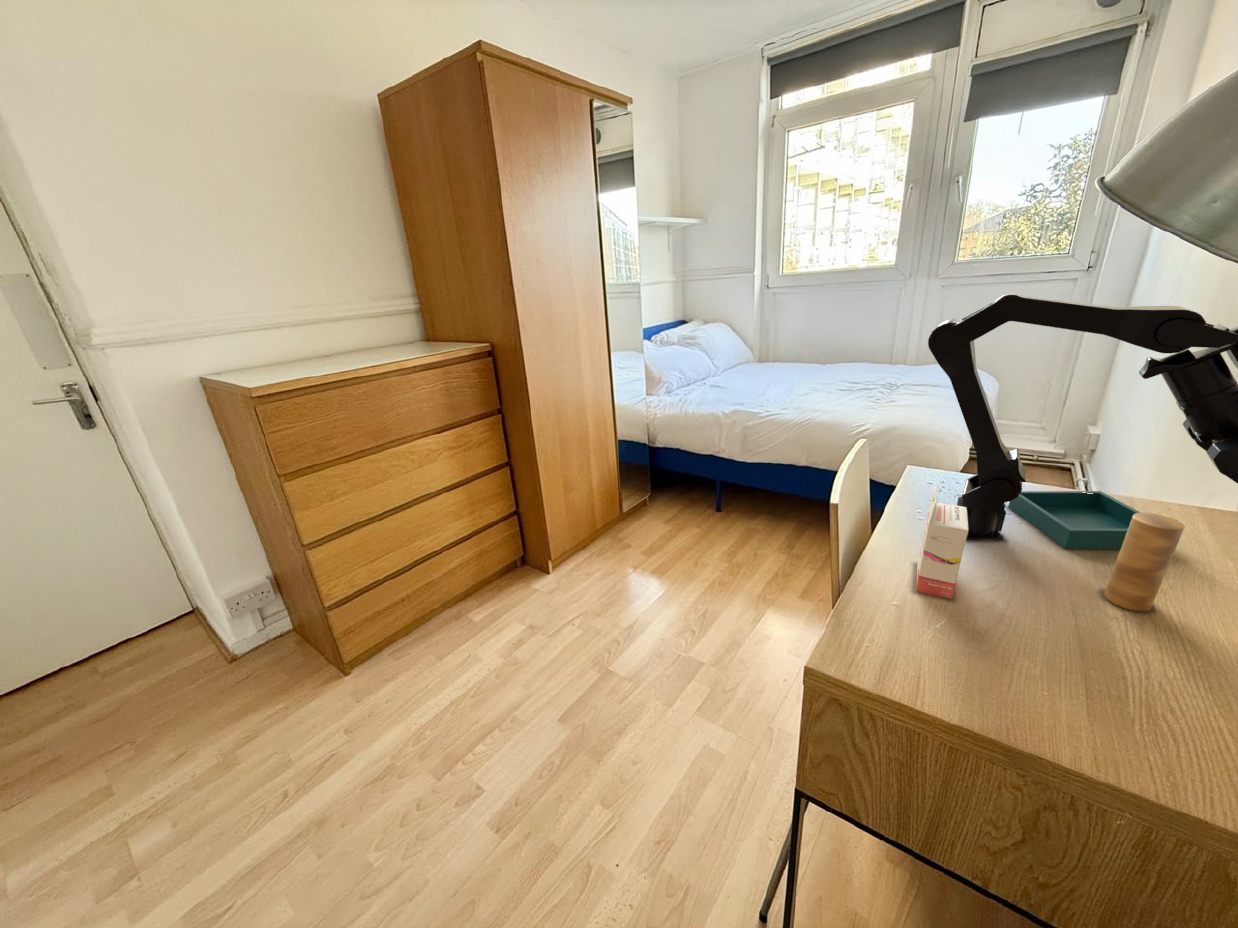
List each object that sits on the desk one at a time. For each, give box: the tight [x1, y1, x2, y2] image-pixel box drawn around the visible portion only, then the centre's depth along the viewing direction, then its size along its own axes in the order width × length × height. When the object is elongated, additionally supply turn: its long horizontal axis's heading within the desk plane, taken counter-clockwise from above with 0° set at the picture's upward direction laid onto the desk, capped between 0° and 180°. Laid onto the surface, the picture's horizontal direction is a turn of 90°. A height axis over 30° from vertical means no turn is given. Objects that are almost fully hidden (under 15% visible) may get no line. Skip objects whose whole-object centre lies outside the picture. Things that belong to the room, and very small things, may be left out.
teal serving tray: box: [1007, 490, 1142, 550], centre depth 89 cm, size 16×16×4 cm
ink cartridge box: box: [916, 485, 968, 600], centre depth 74 cm, size 9×5×15 cm, turn 149°
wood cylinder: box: [1104, 512, 1186, 612], centre depth 68 cm, size 5×5×13 cm
